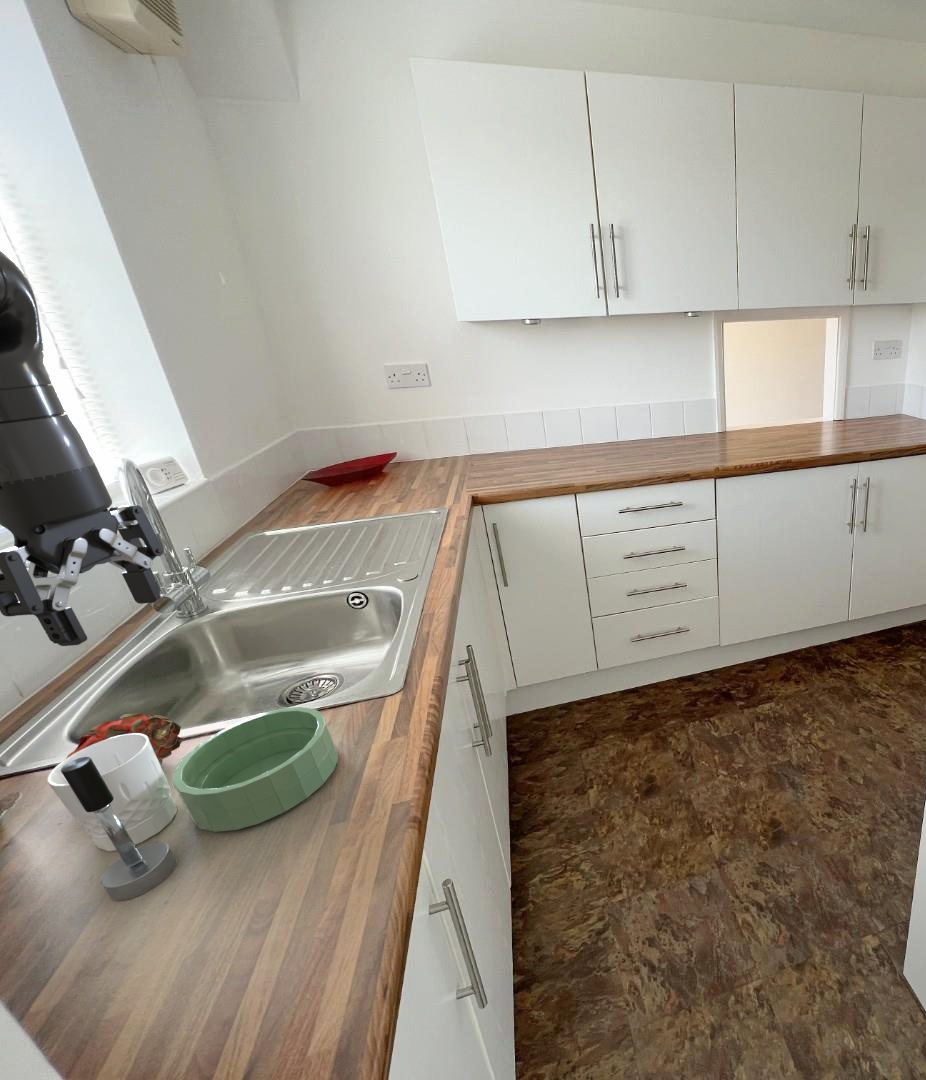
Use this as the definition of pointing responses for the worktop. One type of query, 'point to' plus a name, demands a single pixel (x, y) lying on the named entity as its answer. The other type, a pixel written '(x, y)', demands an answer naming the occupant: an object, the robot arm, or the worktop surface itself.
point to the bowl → (256, 769)
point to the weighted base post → (118, 837)
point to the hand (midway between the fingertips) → (114, 621)
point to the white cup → (122, 788)
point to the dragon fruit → (153, 727)
